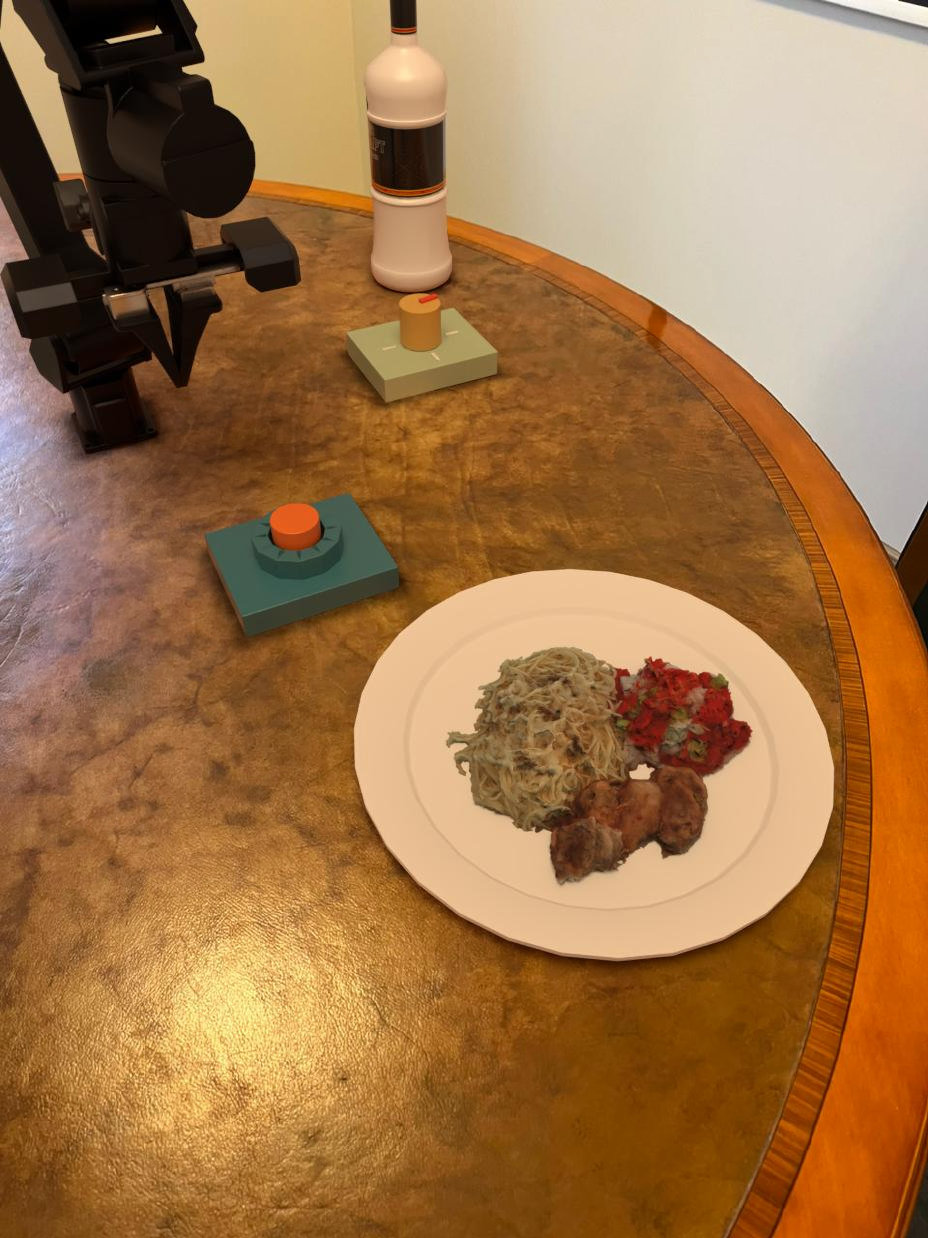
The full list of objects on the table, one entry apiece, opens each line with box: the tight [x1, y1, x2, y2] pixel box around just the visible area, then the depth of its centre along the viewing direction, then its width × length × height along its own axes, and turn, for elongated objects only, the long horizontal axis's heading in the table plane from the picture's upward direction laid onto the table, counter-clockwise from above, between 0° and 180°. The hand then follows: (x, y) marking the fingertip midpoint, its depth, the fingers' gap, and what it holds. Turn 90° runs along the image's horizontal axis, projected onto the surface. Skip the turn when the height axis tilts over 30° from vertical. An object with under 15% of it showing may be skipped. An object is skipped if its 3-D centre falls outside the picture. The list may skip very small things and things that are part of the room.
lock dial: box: [398, 293, 442, 351], centre depth 90 cm, size 4×4×4 cm
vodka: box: [362, 0, 453, 293], centre depth 96 cm, size 9×9×30 cm
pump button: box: [270, 502, 321, 551], centre depth 69 cm, size 4×4×2 cm
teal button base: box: [204, 492, 400, 638], centre depth 70 cm, size 10×12×4 cm
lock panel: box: [345, 307, 499, 404], centre depth 93 cm, size 10×12×3 cm
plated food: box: [353, 568, 835, 962], centre depth 59 cm, size 30×30×3 cm
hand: (180, 384), depth 69 cm, fingers closed
